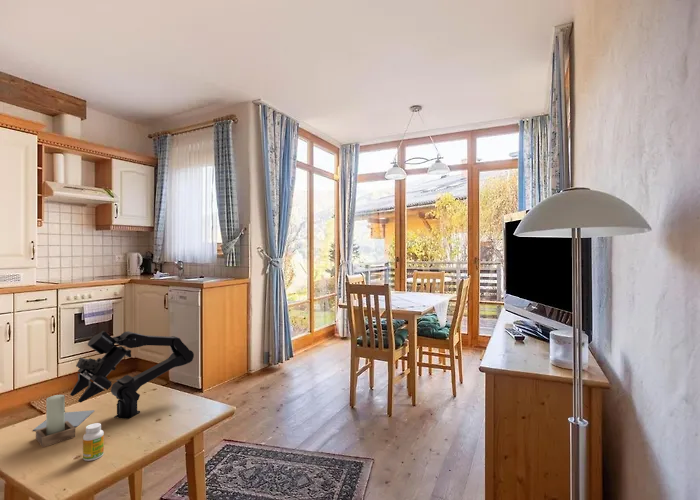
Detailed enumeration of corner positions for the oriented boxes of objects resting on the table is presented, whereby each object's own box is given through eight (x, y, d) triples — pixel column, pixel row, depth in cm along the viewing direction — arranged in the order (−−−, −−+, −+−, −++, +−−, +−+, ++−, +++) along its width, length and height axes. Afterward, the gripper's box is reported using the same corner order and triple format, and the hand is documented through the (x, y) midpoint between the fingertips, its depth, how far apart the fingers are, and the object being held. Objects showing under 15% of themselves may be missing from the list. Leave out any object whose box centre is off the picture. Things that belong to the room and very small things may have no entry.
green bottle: (68, 434, 132) (68, 395, 132) (54, 442, 127) (54, 400, 127) (56, 433, 133) (56, 394, 133) (42, 440, 128) (42, 399, 128)
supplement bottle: (93, 462, 115) (93, 430, 115) (78, 460, 116) (78, 428, 116) (107, 453, 120) (107, 422, 120) (93, 451, 121) (93, 421, 121)
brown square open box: (67, 429, 136) (67, 420, 136) (75, 436, 130) (75, 428, 130) (35, 438, 129) (35, 430, 129) (42, 447, 123) (42, 438, 123)
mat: (94, 411, 151) (94, 410, 151) (76, 426, 138) (76, 425, 138) (55, 414, 149) (55, 413, 149) (33, 430, 135) (33, 429, 135)
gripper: (84, 344, 144) (48, 381, 136) (101, 353, 132) (63, 393, 124) (107, 360, 150) (74, 396, 142) (125, 370, 139) (91, 409, 130)
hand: (75, 398), depth 134 cm, fingers open, 9 cm apart
